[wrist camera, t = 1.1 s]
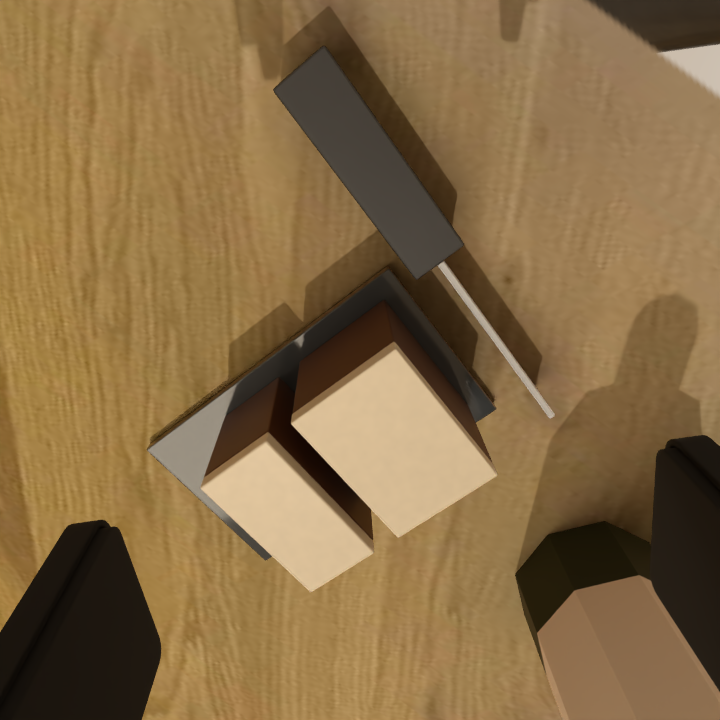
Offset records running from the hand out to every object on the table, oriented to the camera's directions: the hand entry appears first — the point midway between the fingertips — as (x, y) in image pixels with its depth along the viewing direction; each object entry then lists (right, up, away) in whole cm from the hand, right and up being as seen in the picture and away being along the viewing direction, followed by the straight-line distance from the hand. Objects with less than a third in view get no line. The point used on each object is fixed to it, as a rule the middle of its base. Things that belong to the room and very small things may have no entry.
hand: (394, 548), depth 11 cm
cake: (+1, +2, +19) cm, 19 cm away
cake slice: (-4, -1, +20) cm, 20 cm away
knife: (+3, +8, +17) cm, 19 cm away
